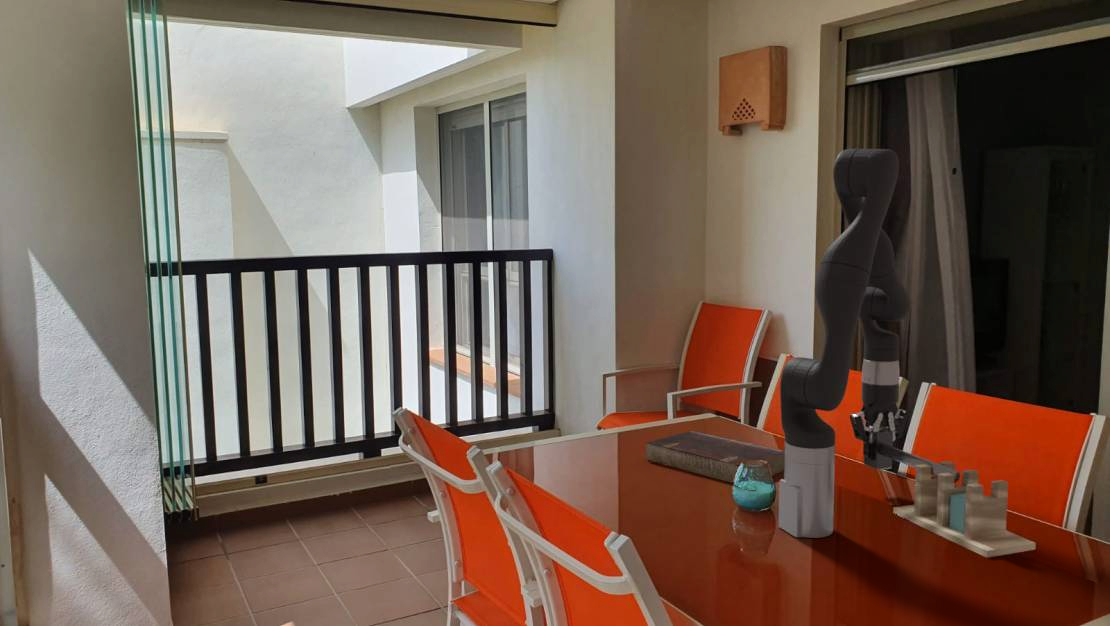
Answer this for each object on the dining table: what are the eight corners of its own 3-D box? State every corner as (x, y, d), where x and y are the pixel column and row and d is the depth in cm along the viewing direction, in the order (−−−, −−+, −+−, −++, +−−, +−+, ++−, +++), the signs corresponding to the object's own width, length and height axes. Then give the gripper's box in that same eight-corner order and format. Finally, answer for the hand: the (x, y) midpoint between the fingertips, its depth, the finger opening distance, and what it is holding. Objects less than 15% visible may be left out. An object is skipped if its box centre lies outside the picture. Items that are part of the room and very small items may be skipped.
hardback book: (789, 470, 204) (790, 450, 203) (744, 488, 191) (744, 466, 191) (693, 447, 225) (693, 428, 224) (646, 462, 212) (646, 442, 212)
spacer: (949, 526, 161) (950, 495, 161) (973, 523, 163) (975, 491, 163) (963, 533, 158) (965, 501, 157) (988, 529, 160) (990, 497, 159)
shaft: (864, 464, 186) (865, 428, 185) (879, 462, 187) (880, 426, 186) (945, 498, 163) (947, 457, 162) (962, 495, 165) (964, 455, 164)
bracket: (893, 513, 173) (895, 460, 171) (937, 507, 176) (939, 455, 175) (986, 557, 150) (989, 497, 149) (1035, 549, 153) (1038, 490, 152)
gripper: (863, 385, 177) (861, 466, 179) (920, 381, 181) (917, 459, 183) (841, 379, 184) (839, 457, 186) (895, 375, 188) (893, 450, 190)
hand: (878, 457), depth 185 cm, fingers closed on shaft, 4 cm apart
